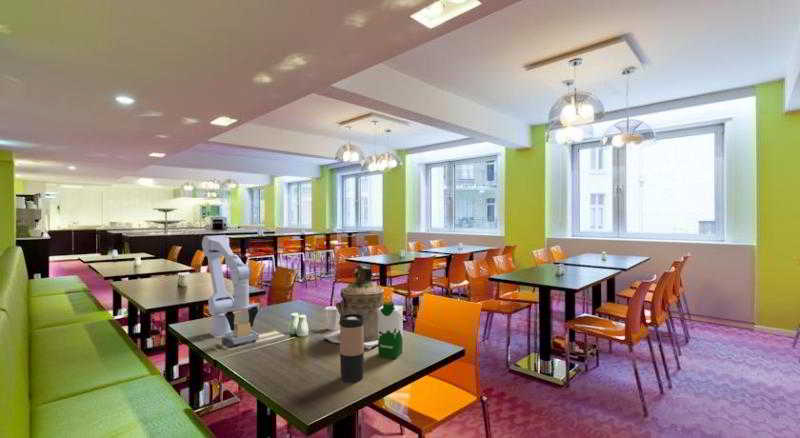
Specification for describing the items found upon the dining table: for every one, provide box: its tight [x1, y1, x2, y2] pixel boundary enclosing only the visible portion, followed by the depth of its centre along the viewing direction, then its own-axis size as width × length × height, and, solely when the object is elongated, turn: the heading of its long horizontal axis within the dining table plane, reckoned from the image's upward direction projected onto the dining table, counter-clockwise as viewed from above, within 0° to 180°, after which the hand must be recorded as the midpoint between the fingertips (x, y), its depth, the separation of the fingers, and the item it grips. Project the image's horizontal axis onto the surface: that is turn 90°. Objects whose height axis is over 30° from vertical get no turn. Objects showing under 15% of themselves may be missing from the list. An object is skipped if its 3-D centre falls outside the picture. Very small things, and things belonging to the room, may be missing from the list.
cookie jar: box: [322, 264, 385, 351], centre depth 168 cm, size 25×25×32 cm
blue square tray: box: [224, 328, 259, 347], centre depth 162 cm, size 10×10×3 cm
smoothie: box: [324, 298, 339, 331], centre depth 181 cm, size 6×6×14 cm
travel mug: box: [339, 314, 365, 384], centre depth 127 cm, size 8×8×20 cm
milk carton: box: [377, 301, 404, 360], centre depth 148 cm, size 9×9×20 cm
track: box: [216, 329, 288, 352], centre depth 165 cm, size 13×25×2 cm, turn 133°
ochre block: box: [232, 320, 251, 338], centre depth 162 cm, size 5×5×5 cm
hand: (241, 328), depth 162 cm, fingers open, 7 cm apart
